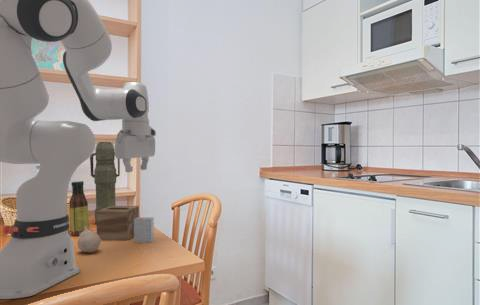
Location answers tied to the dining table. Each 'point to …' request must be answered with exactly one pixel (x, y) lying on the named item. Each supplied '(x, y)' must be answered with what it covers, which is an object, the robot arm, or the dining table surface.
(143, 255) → the dining table surface
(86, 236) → the garlic bulb
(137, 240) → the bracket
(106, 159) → the thermos
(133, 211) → the striped wooden crate
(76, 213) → the sauce bottle
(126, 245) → the dining table surface
